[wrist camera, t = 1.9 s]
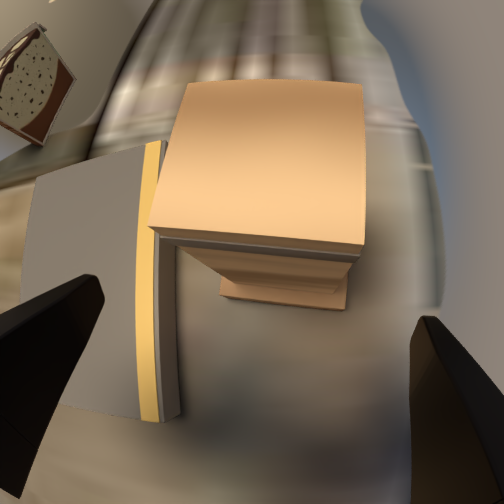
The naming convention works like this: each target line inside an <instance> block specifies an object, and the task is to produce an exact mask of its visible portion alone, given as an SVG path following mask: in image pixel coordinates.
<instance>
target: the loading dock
mask: <svg viewBox="0 0 504 504" xmlns="http://www.w3.org/2000/svg"><path fill="white" fill-rule="evenodd" d="M167 147H168V142H167V141H166V140H164V141H162V140H160V141H156V142H151V143H147V144H146V145H143V146H138V147H134V148H131V149H127V150H123V151H119V152H115V153H112V154H108V155H105V156H101V157H98V158H94V159H91V160H88V161H84V162H81V163H78V164H75V165H72V166H69V167H65V168H62V169H59V170H56V171H54V172H51V173H48V174H45V175H42V176H39V177H37V178H36V183H35V187H34V192H33V197H32V202H31V207H30V213H29V218H28V224H27V231H26V238H25V245H24V253H23V263H22V274H21V287H20V304H22V303H24V302H26V301H28V300H30V299H32V298H34V297H36V296H38V295H40V294H43V293H45V292H47V291H49V290H51V289H53V288H55V287H57V286H59V285H61V284H63V283H66V282H68V281H70V280H72V279H74V278H76V277H78V276H81V275H83V274H92V275H96V276H97V277H98V279H99V281H100V284H101V287H102V290H103V293H104V295H105V304H104V306H103V308H102V311H101V313H100V315H99V318H98V320H97V322H96V325H95V327H94V329H93V332H92V334H91V337H90V339H89V341H88V343H87V346H86V348H85V350H84V352H83V353H82V355H81V357H80V359H79V361H78V363H77V365H76V367H75V369H74V371H73V373H72V375H71V377H70V379H69V381H68V383H67V385H66V387H65V390H64V392H63V394H62V396H61V398H60V400H59V402H58V403H59V404H63V405H67V406H71V407H75V408H80V409H84V410H89V411H93V412H98V413H103V414H109V415H114V416H120V417H126V418H132V419H139V420H143V421H150V422H158V423H159V422H162V423H165V422H167V421H169V420H170V419H172V418H174V417H176V416H177V415H179V414H181V410H180V397H179V382H178V365H177V343H176V308H175V246H173V245H171V244H169V243H168V242H166V241H165V240H163V239H162V238H160V236H161V235H160V234H158V233H157V232H155V231H154V230H152V229H151V228H149V227H148V226H147V224H148V220H149V216H150V211H151V207H152V203H153V199H154V195H155V191H156V187H157V183H158V180H159V176H160V172H161V169H162V165H163V161H164V158H165V154H166V151H167Z"/></svg>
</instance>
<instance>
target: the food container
mask: <svg viewBox="0 0 504 504" xmlns="http://www.w3.org/2000/svg"><path fill="white" fill-rule="evenodd" d="M45 31H47V29H46V28H45V27H43V26H42V25H41V24H37V23H36V22H33V23H32V24H30V25H29V26H27V27H26V28H25V29H23V30H22V31H21V32H19V33H18V34H17V35H16V36H15V37H14V38H12V39H11V40H10V41H9V42H8V43H7V44H6V45H5V46H4V47H3V48H2V49H1V50H0V125H1V126H3V127H4V128H6V129H8V130H10V131H11V132H13V133H15V134H17V135H18V136H20V137H22V138H24V139H25V140H27V141H29V142H31V143H32V144H34V145H36V146H44V145H45V142H46V140H47V138H48V135H49V133H50V131H51V128H52V126H53V124H54V122H55V120H56V118H57V116H58V114H59V112H60V110H61V108H62V106H63V104H64V102H65V100H66V98H67V96H68V94H69V92H70V90H71V89H72V87H73V85H74V83H75V81H76V80H77V79H76V78H75V77H74V75H73V74H72V72H71V71H70V70H69V68H68V67H67V65H66V64H65V63H64V61H63V60H62V58H61V57H60V55H59V54H58V53H57V51H56V50H55V48H54V47H53V46H52V44H51V43H50V41H49V40H48V38H47V37H46V35H45V34H44V32H45Z"/></svg>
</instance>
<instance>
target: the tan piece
mask: <svg viewBox="0 0 504 504" xmlns="http://www.w3.org/2000/svg"><path fill="white" fill-rule="evenodd" d="M365 206H366V156H365V126H364V108H363V93H362V84H352V83H342V82H329V81H313V80H285V79H254V80H225V81H209V82H197V83H188V86H187V88H186V91H185V94H184V97H183V100H182V103H181V106H180V109H179V112H178V115H177V118H176V121H175V124H174V128H173V131H172V134H171V137H170V141H169V144H168V147H167V151H166V154H165V158H164V161H163V165H162V169H161V172H160V176H159V180H158V183H157V187H156V191H155V195H154V199H153V203H152V207H151V211H150V216H149V220H148V224H147V226H148V227H149V228H151V229H152V230H154V231H155V232H157V233H158V234H160V235H161V236H160V238H162V239H163V240H165V241H166V242H168V243H169V244H171V245H173V246H178V247H179V248H181V249H182V250H184V251H185V252H187V253H188V254H190V255H191V256H193V257H194V258H196V259H197V260H199V261H200V262H202V263H203V264H205V265H206V266H208V267H210V268H211V269H213V270H214V271H216V272H217V273H219V274H220V275H222V279H221V286H220V292H219V295H221V296H224V297H226V298H231V299H239V300H246V301H254V302H262V303H270V304H279V305H287V306H296V307H305V308H315V309H324V310H334V311H343V310H344V309H345V303H346V293H347V282H348V271H349V268H350V267H351V265H352V264H353V263H356V262H357V260H358V259H359V257H360V251H361V249H362V247H363V246H364V237H365Z"/></svg>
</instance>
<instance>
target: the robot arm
mask: <svg viewBox="0 0 504 504" xmlns="http://www.w3.org/2000/svg"><path fill="white" fill-rule="evenodd" d="M104 304H105V295H104V293H103V290H102V287H101V284H100V281H99V279H98V277H97V276H96V275H92V274H83V275H81V276H78V277H76V278H74V279H72V280H70V281H68V282H66V283H63V284H61V285H59V286H57V287H55V288H53V289H51V290H49V291H47V292H45V293H43V294H40V295H38V296H36V297H34V298H32V299H30V300H28V301H26V302H24V303H22V304H20V305H18V306H16V307H14V308H12V309H10V310H8V311H6V312H4V313H2V314H0V488H1V489H3V490H4V491H6V492H8V493H9V494H11V495H13V496H14V497H16V498H18V499H20V497H21V495H22V492H23V489H24V486H25V484H26V481H27V478H28V475H29V473H30V470H31V467H32V464H33V462H34V459H35V457H36V454H37V452H38V449H39V446H40V444H41V441H42V439H43V436H44V434H45V432H46V429H47V427H48V425H49V422H50V420H51V418H52V416H53V413H54V411H55V409H56V407H57V405H58V402H59V400H60V398H61V396H62V394H63V392H64V390H65V387H66V385H67V383H68V381H69V379H70V377H71V375H72V373H73V371H74V369H75V367H76V365H77V363H78V361H79V359H80V357H81V355H82V353H83V352H84V350H85V348H86V346H87V343H88V341H89V339H90V337H91V334H92V332H93V329H94V327H95V325H96V322H97V320H98V318H99V315H100V313H101V311H102V308H103V306H104ZM409 405H410V422H411V450H412V479H411V504H504V395H503V394H502V393H501V391H500V390H499V389H498V388H497V386H496V385H495V384H494V383H493V381H492V380H491V379H490V378H489V376H488V375H487V374H486V373H485V372H484V370H483V369H482V368H481V367H480V365H479V364H478V363H477V362H476V361H475V360H474V359H473V357H472V356H471V355H470V354H469V353H468V351H467V350H466V349H465V348H464V347H463V346H462V344H461V343H460V342H459V341H458V340H457V339H456V338H455V337H454V335H452V333H451V332H450V331H449V330H448V329H447V328H446V327H445V326H444V324H443V323H442V322H441V321H440V320H439V319H438V318H437V317H435V316H425V315H423V316H421V317H420V318H419V320H418V323H417V325H416V328H415V330H414V333H413V335H412V337H411V341H410V384H409Z"/></svg>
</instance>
